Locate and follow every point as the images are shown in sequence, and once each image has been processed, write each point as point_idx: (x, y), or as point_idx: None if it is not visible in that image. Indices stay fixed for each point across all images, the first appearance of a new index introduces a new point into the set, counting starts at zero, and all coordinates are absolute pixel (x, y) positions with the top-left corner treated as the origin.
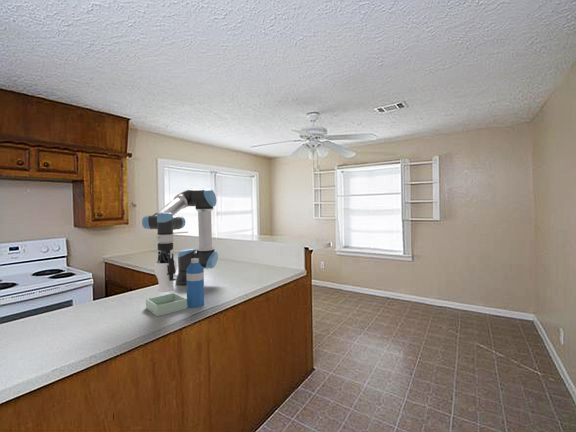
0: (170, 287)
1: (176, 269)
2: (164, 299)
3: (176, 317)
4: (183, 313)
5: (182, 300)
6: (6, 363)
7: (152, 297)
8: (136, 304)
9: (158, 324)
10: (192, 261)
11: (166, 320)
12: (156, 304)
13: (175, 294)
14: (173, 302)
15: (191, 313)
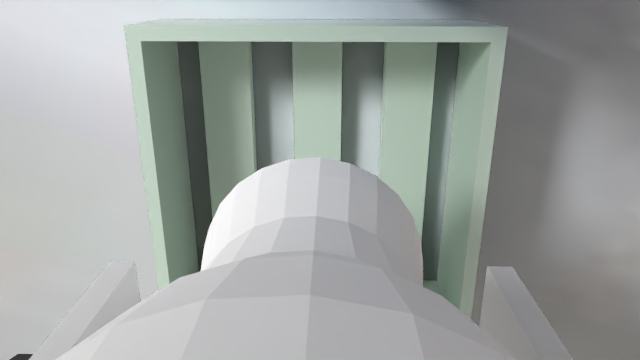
0: (422, 264)
1: (468, 341)
2: (170, 148)
3: (601, 195)
4: (569, 111)
5: (498, 86)
6: None
7: (158, 283)
8: (29, 305)
9: (607, 336)
10: None
11: (588, 273)
12: (189, 215)
13: (191, 40)
14: (484, 193)
15: (637, 55)
